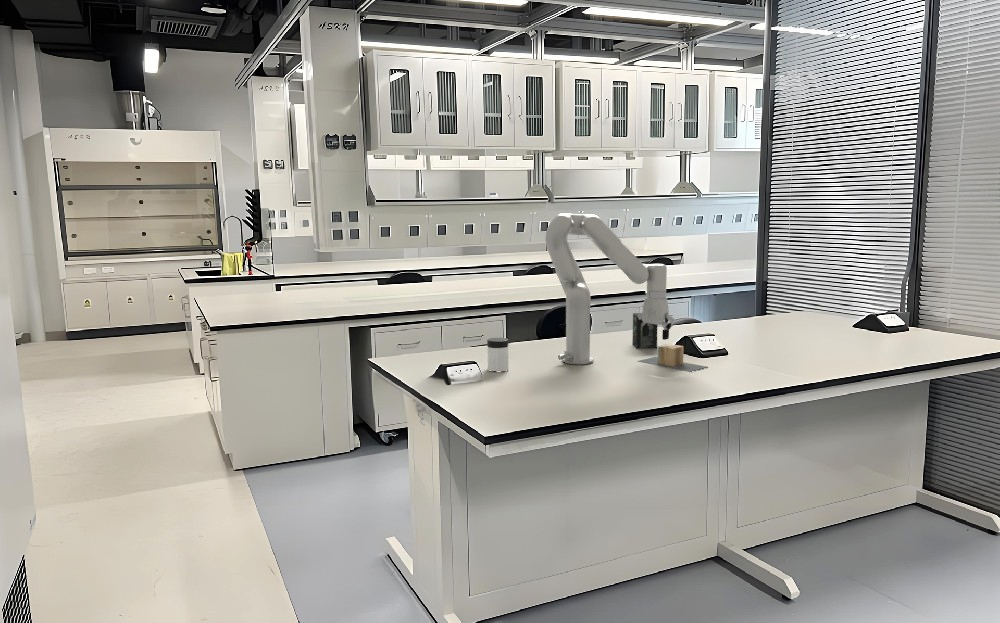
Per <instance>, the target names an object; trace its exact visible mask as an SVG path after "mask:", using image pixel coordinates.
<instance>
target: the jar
mask: <svg viewBox="0 0 1000 623" xmlns="http://www.w3.org/2000/svg"><path fill="white" fill-rule="evenodd" d="M486 344H487V345H486V346H487V371H488V370H491V371H505V372H507V371H506V370H508V371H509V339H508V338H507V337H506V338H505V337H490V338H488V339H487V340H486Z"/></svg>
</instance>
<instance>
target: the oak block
mask: <svg viewBox="0 0 1000 623" xmlns="http://www.w3.org/2000/svg"><path fill="white" fill-rule="evenodd" d="M684 348H685V346H684V345H677V344H673V343H666V344H663V345H657V357H658V364H662V365H667V366H672V367H673V366H677V365H681V364H683V362H684V350H685V349H684Z"/></svg>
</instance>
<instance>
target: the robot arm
mask: <svg viewBox="0 0 1000 623" xmlns="http://www.w3.org/2000/svg"><path fill="white" fill-rule="evenodd" d="M569 235H570V236H586V237H587V238H588V239H589V240H590V241H591V242H592V243H593V244H594V245H595V246H596V247H597V248H598V250H599V251H601V252H602V253H603V255H605V257H606V258H607V259H609V260H610V261H611V262H613V263H614V264H615V265H616V266H617V267H618V269H620V270H621V271H622V272H623V273H624V274H625V275H626V276H627V277H628V279H629V281H631V282H632V283H634V284H636V285H641V284H644V283H646V290H645V292H644V294H645V295H646V297H645V298H644V300H643V304H642V305H643V306H642V312H640V314H638V318H639V322H640V323H641V326H642V327H643V336H648V335H649V326H648V324H649V323H650V324H657V326H661V327H662V328H663V329H662V335H661V336H662V340H663V341H664V340H669V337H670V330H671V328H672V327H673V326H674V323H675V321H676V319H675V318H674V317H672V315H670V311H669V310H670V309H669V302H668V298H667V278H668V277H667V274H668V273H667V272H668V271H667V266H666V264H664V263H650V264H646V263H643V262H642V261H641V260H640V259H639V258H638V257H637V256H636V255H635V254H634V253H633V252H632V251H631V250H630V249H629V248H628V246H627V245H626V244H625V243H624V241H622V240H621V238H620V237H619V236H617V234H616V233H615V232H614V231H613V230H612V229H611V228H610V226H609V225H607V223H606V222H605V221H603V219H602V218H600V217H599V216H598V215H595V214H582V213H581V214H578V213H564V212H563V213H558V214H557V215H555V216H554V218H553V219H552V220H551V222H550V223H549V225H548V227H547V229H546V232H545V239H544V240H545V245H546V249H547V252H548V254H549V256H550V260H551V262H552V264H553V267H554V269H555V273H556V276H557V278H558V281H559V283H560V284H561V287H562V290H563V292H564V294H565V324H566V325H565V326H566V327H565V337H566V338H565V341H566V342H565V344H566V345H565V347H566V348H565V350H564V352H563V354H558V355H557V359H558V360H560V361H562V363H564V362H565V364H570V365H589V364H592V363H593V362H594V360H595V359H594V357H591V355H590V354H591V345H590V344H591V302H592V299H591V296H592V295H591V292H590V290H589V287H588V285H587V283H586V280H585V278H584V276H583V273H582V271H581V269H580V267H579V263H578V261H577V260H576V259H575V257H574V255H573V252H572V249H571V247H570V245H569V242H568V236H569Z"/></svg>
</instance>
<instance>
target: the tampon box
mask: <svg viewBox="0 0 1000 623" xmlns="http://www.w3.org/2000/svg"><path fill="white" fill-rule="evenodd" d="M640 313H641V312H640ZM640 313H638V312H633V313H632V342H631V343H632V346H633V347H634V348H635V349H636V350H639V349H656V350H658V325H657V324H650V323H649V324H648V326H649V335H648V336H643V327H642V326H641V323H640V322H639V318H638V314H640Z"/></svg>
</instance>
